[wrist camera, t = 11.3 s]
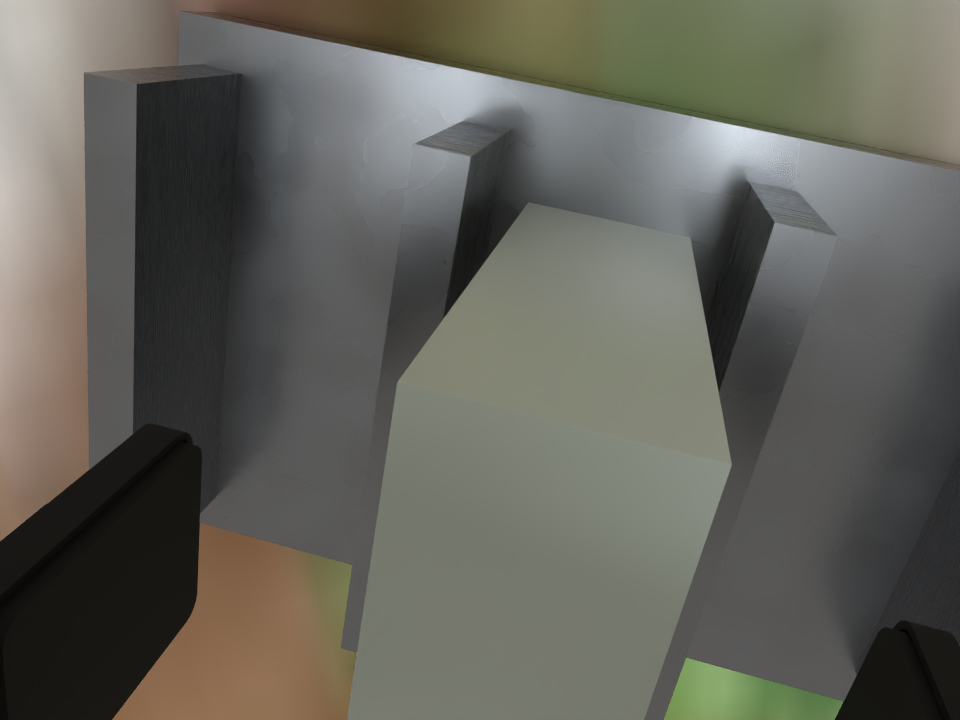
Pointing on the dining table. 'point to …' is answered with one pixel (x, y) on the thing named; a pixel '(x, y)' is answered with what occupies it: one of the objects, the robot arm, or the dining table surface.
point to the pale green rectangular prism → (545, 483)
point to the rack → (456, 260)
